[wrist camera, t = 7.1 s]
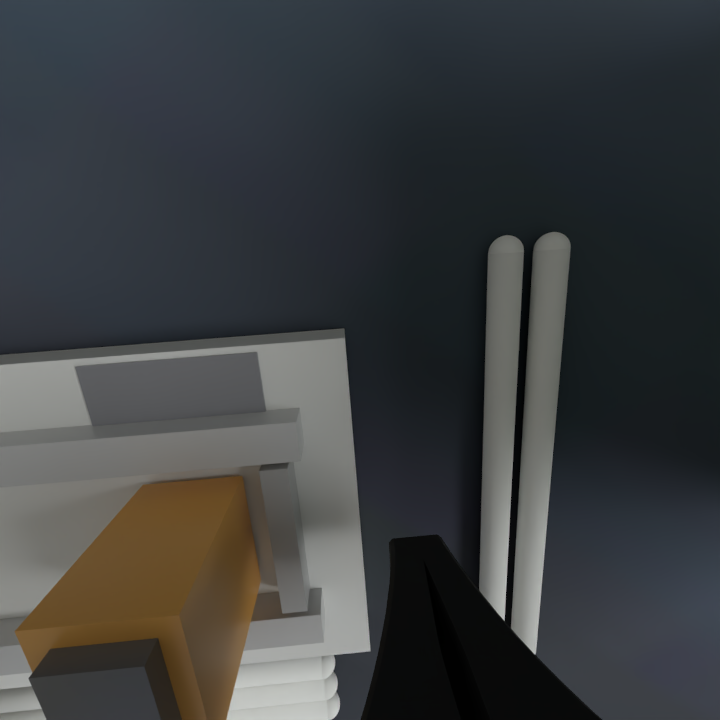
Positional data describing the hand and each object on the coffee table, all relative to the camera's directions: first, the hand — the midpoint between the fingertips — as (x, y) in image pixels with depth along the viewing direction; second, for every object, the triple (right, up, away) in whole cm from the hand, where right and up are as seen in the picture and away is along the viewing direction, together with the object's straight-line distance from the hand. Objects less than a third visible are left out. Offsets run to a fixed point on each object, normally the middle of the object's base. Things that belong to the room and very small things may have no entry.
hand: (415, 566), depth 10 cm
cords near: (+3, +1, +4) cm, 5 cm away
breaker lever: (-7, 0, +2) cm, 7 cm away
